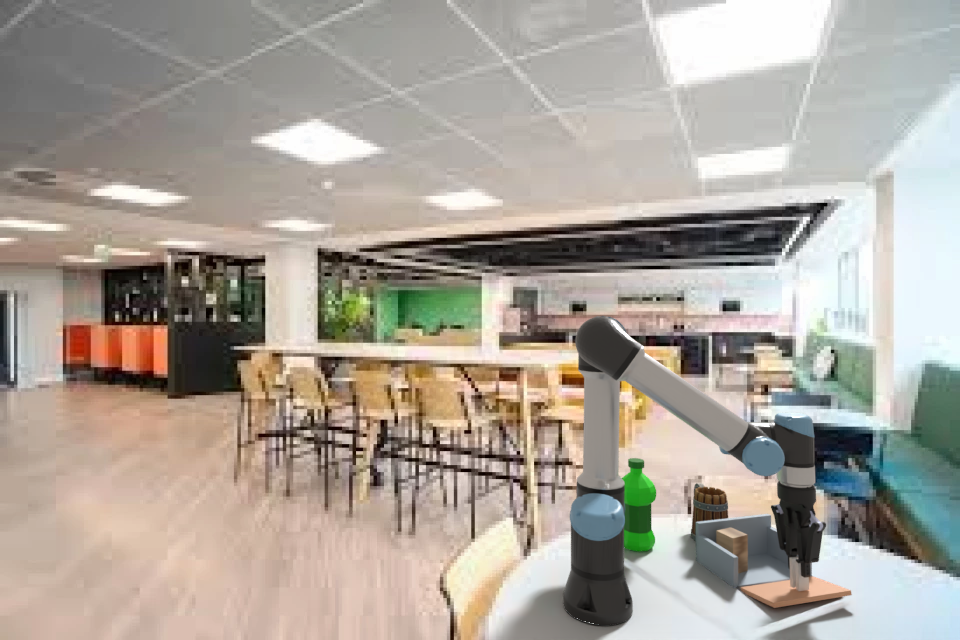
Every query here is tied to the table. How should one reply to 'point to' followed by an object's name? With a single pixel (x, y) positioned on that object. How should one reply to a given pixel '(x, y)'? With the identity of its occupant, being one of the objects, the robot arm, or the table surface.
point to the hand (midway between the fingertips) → (799, 587)
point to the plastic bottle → (638, 508)
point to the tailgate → (793, 592)
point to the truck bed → (762, 551)
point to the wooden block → (734, 545)
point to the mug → (708, 505)
